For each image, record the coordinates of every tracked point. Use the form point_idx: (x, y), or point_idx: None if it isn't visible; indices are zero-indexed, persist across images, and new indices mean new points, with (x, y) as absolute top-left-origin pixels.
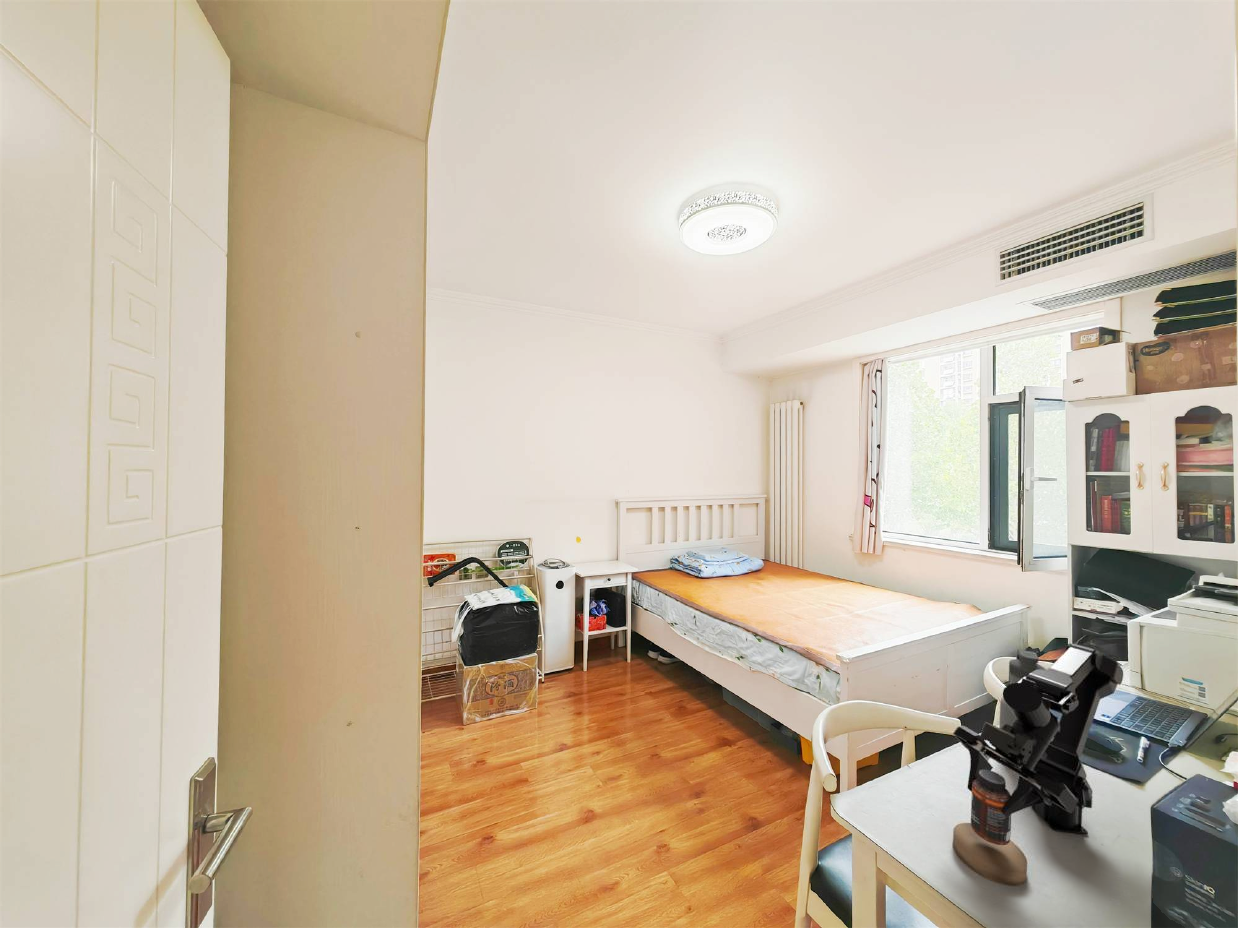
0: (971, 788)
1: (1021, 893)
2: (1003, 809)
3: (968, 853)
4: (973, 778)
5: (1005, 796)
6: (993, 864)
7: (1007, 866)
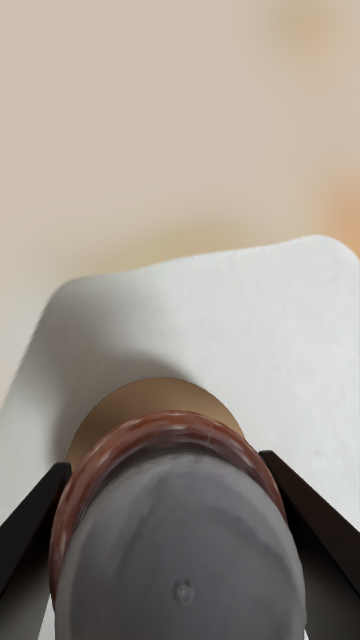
0: None
1: (56, 444)
2: (58, 470)
3: (155, 378)
4: (293, 503)
5: (60, 551)
6: (105, 411)
7: (88, 449)
